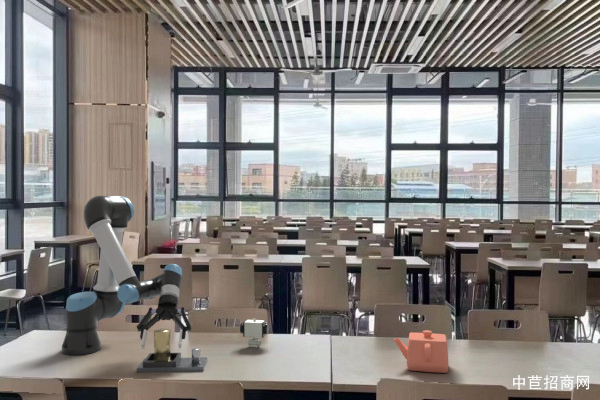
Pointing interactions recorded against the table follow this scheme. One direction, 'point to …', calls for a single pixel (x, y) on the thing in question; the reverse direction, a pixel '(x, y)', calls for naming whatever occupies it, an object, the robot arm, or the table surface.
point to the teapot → (425, 352)
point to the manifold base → (174, 363)
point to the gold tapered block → (162, 345)
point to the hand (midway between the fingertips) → (161, 346)
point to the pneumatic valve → (254, 331)
